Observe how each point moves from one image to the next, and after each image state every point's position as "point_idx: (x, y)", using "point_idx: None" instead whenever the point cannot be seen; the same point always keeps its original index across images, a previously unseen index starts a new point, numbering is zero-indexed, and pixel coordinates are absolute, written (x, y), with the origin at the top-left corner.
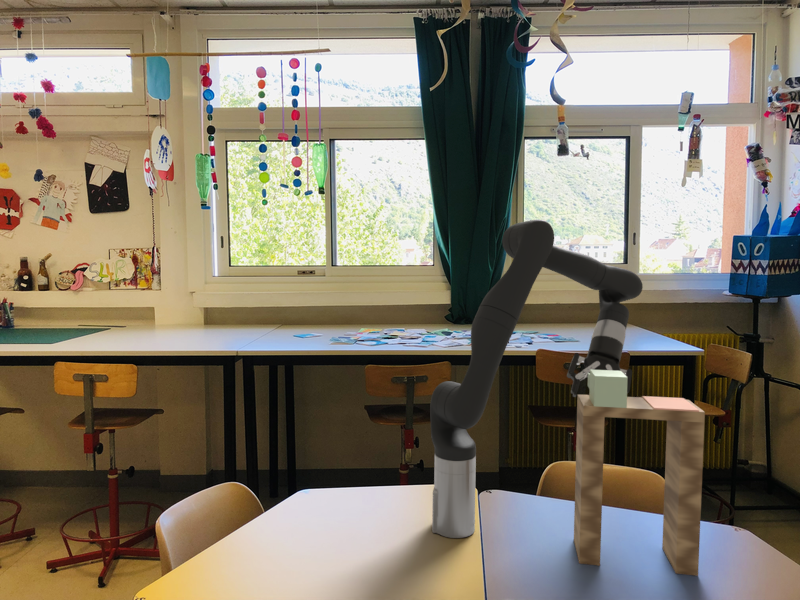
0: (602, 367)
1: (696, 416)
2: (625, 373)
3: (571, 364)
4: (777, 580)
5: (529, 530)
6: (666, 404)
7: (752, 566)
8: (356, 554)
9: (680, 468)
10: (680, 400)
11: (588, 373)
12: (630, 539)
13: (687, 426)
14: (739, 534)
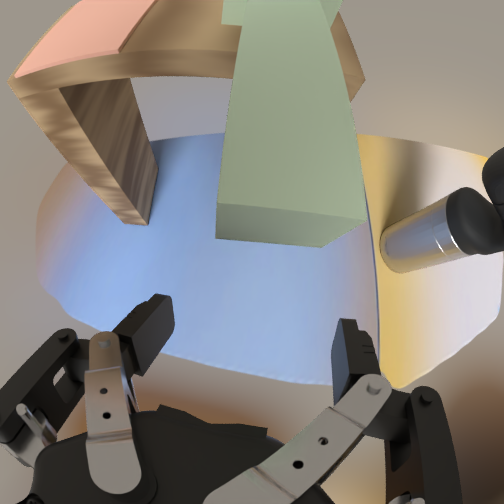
0: (174, 492)
1: None
2: (18, 413)
3: (449, 443)
4: (65, 178)
5: (318, 258)
6: (114, 5)
7: (70, 201)
8: (447, 193)
9: (129, 79)
10: (44, 47)
11: (363, 190)
12: (181, 248)
13: None
14: (44, 280)
